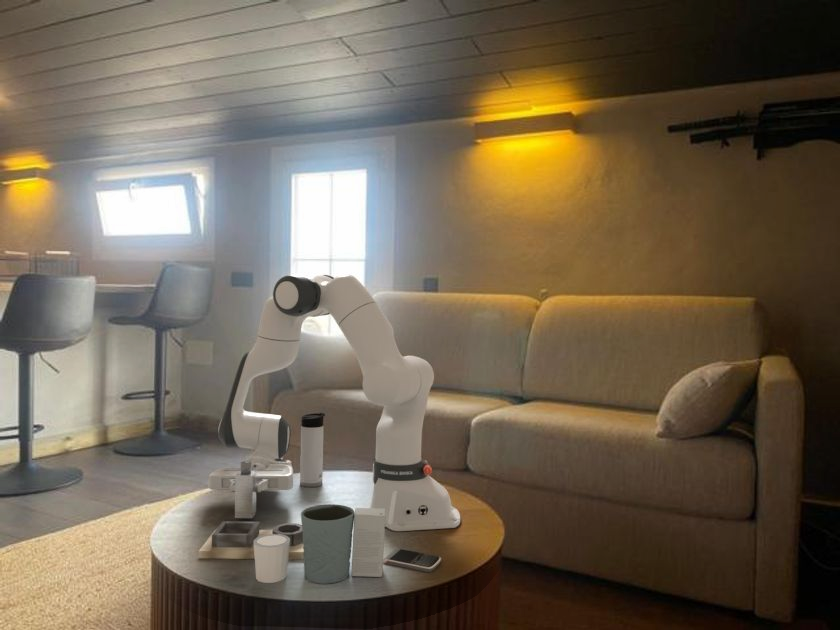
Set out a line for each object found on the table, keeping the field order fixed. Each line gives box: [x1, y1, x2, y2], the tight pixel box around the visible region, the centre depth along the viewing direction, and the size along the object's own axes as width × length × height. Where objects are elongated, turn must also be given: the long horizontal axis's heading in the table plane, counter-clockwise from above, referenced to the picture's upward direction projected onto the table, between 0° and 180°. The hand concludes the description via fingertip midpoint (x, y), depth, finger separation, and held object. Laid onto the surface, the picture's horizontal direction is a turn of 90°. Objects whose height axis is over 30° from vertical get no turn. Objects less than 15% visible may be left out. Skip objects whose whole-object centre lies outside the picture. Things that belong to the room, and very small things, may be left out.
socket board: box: [198, 520, 304, 560], centre depth 135 cm, size 22×12×4 cm, turn 92°
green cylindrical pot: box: [300, 503, 355, 585], centre depth 123 cm, size 10×10×12 cm
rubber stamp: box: [234, 460, 257, 519], centre depth 151 cm, size 4×4×12 cm
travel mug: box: [299, 412, 326, 488], centre depth 181 cm, size 6×7×20 cm
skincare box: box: [350, 507, 386, 578], centre depth 124 cm, size 6×4×12 cm
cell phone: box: [383, 548, 442, 573], centre depth 130 cm, size 6×11×1 cm, turn 67°
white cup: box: [254, 534, 290, 584], centre depth 122 cm, size 7×7×7 cm
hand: (245, 488), depth 150 cm, fingers closed on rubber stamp, 4 cm apart
